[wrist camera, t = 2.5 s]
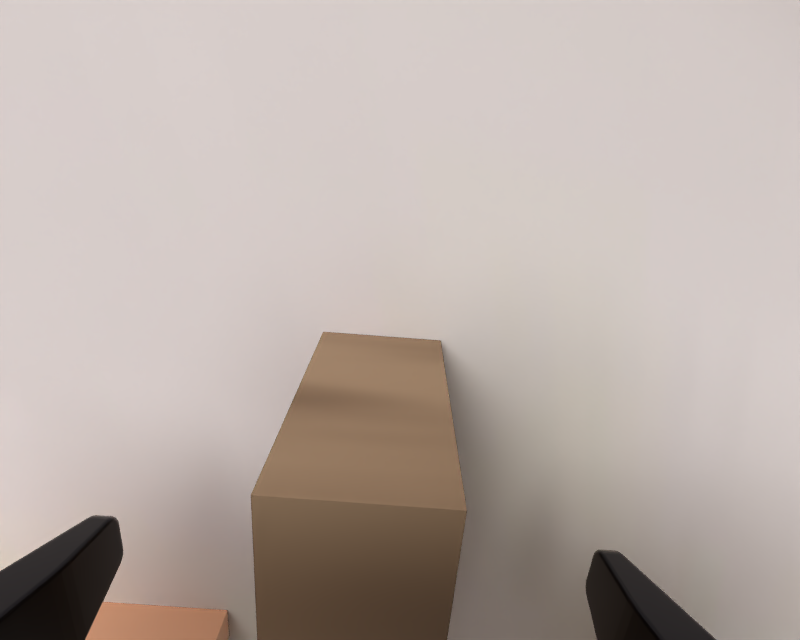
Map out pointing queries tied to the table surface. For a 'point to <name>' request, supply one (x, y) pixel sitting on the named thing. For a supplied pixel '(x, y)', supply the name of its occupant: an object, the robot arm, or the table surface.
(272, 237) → the table surface
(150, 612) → the tile
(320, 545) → the brown stepped block
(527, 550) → the table surface
